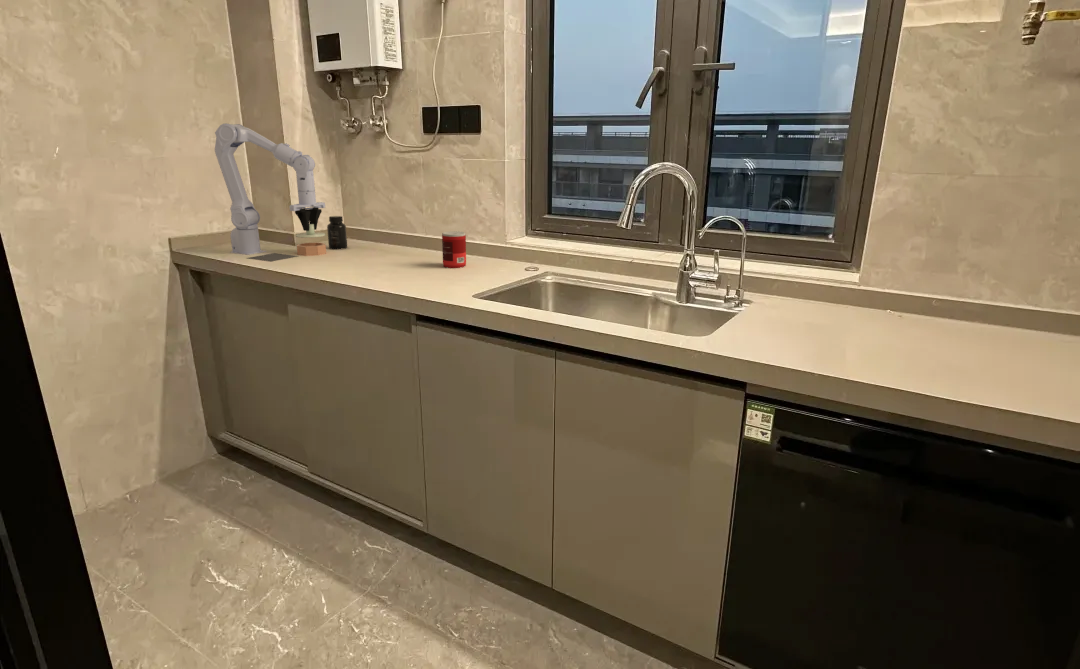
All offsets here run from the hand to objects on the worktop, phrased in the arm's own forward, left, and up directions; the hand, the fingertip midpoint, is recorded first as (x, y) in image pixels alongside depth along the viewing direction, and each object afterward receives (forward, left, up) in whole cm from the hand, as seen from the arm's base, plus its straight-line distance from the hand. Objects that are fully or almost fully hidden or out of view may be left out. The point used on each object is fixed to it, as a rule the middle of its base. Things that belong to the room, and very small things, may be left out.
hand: (310, 230), depth 221 cm
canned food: (+56, +8, -9) cm, 57 cm away
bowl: (0, 0, -9) cm, 9 cm away
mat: (-5, -13, -9) cm, 16 cm away
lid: (0, 0, -2) cm, 2 cm away
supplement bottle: (-2, +15, -9) cm, 18 cm away
